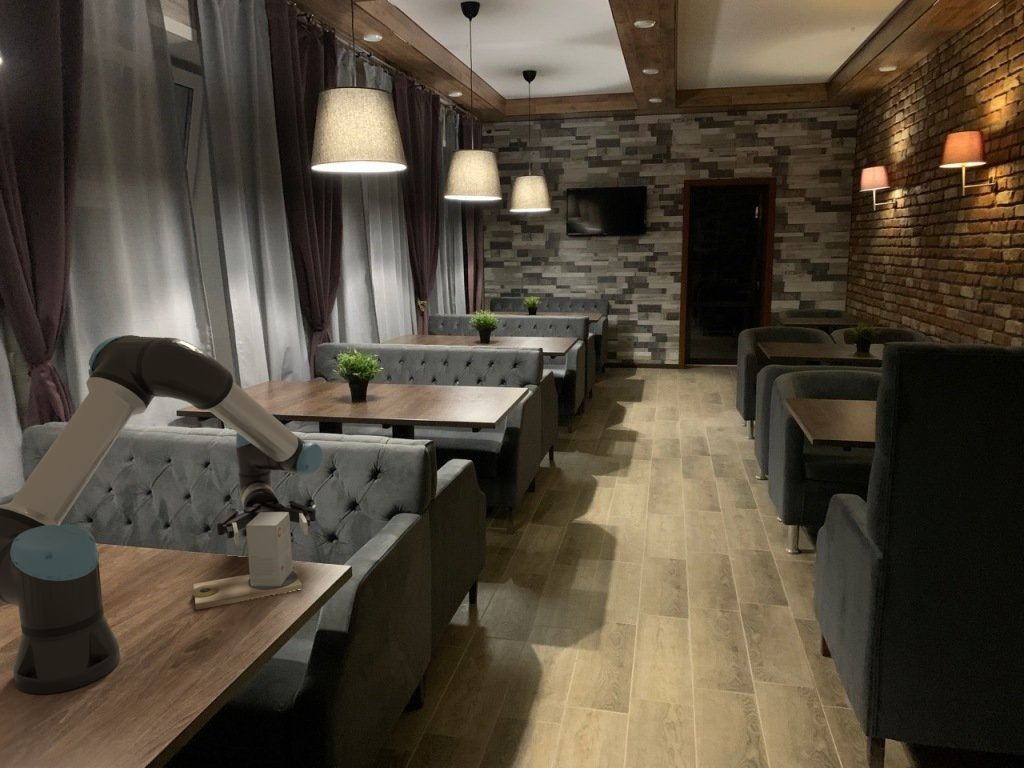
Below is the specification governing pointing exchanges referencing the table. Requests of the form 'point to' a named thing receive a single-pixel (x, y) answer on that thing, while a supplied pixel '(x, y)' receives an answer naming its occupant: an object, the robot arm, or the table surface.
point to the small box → (269, 548)
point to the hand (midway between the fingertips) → (272, 533)
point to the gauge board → (238, 590)
